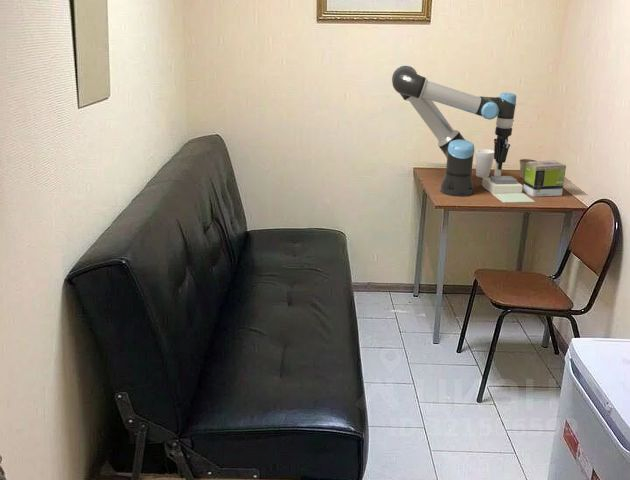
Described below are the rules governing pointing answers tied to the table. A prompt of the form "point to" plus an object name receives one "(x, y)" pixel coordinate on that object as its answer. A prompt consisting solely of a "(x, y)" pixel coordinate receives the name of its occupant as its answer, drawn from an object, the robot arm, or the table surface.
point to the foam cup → (484, 162)
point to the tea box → (544, 178)
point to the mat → (513, 198)
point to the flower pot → (523, 166)
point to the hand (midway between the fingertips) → (497, 175)
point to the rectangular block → (503, 180)
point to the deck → (501, 187)
